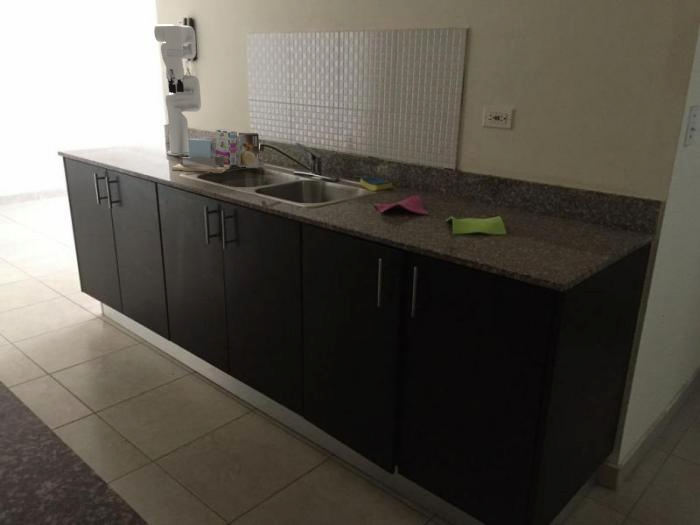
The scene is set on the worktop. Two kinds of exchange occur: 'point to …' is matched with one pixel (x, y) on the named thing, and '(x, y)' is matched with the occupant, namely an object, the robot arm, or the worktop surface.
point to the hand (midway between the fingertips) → (176, 92)
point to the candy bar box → (227, 146)
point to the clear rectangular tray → (202, 164)
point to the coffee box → (249, 150)
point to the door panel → (201, 148)
